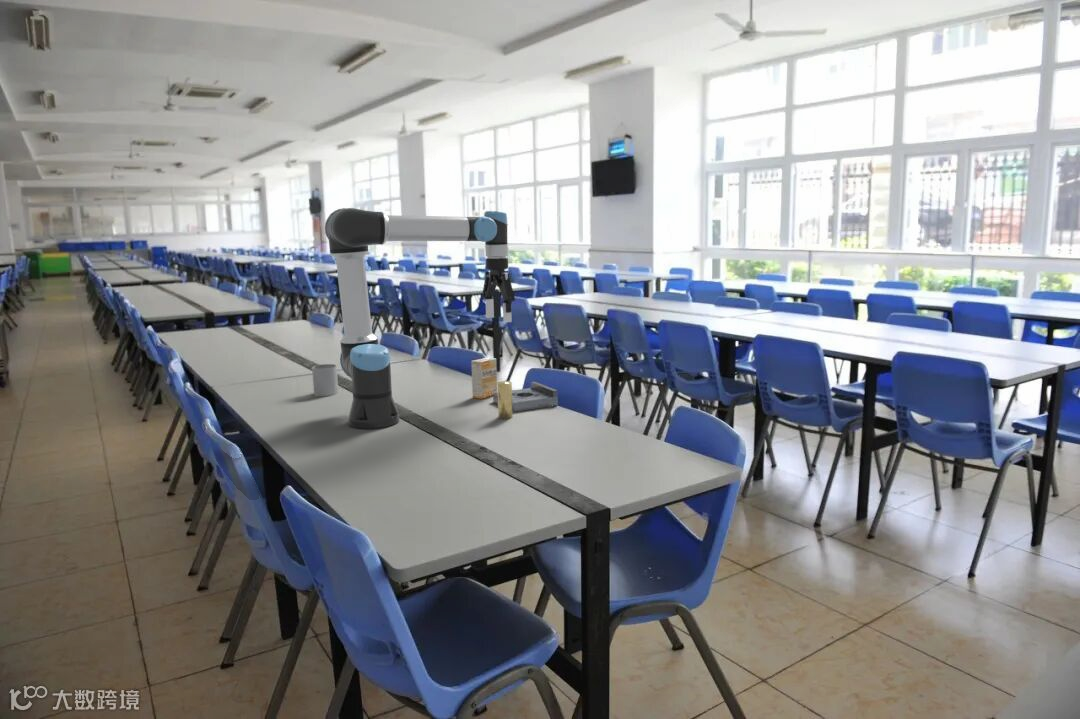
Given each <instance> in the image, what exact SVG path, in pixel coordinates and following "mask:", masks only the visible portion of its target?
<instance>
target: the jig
mask: <svg viewBox="0 0 1080 719" xmlns="http://www.w3.org/2000/svg"><path fill="white" fill-rule="evenodd" d="M558 395H559V392H558V389H555V388H552V387H551V386H547V385H544V384H542V383H539V382H537V381H531V382H530V387H528V388H527V387H526V388H522V389H521V388H520V389H515V390H514V389H512V413H513V412H514V413H515V412H523V411H529V410H536V409H537V410H538V409H542V408H543V407H544V408H548V406H550V407H556V406H558V405H559V398H558V397H559V396H558ZM492 397H493V398H492V400H493V403H496V404H497V405H498V391H497V393H493V396H492ZM552 405H554V406H552Z"/></svg>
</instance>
